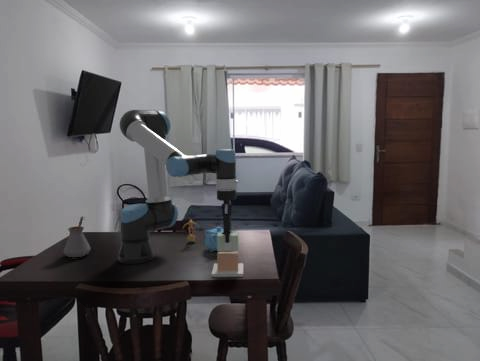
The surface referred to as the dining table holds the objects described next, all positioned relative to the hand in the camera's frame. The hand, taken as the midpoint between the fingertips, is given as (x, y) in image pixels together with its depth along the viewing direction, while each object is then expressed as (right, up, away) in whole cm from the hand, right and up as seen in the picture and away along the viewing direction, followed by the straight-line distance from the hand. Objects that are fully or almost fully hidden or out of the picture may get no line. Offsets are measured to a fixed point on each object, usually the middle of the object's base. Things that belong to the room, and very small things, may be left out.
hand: (227, 247), depth 161 cm
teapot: (-5, -6, +30) cm, 31 cm away
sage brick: (0, 0, 0) cm, 0 cm away
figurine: (-19, -5, +42) cm, 47 cm away
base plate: (0, -9, +1) cm, 10 cm away
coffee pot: (-70, -7, +29) cm, 76 cm away
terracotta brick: (0, -8, +1) cm, 8 cm away
